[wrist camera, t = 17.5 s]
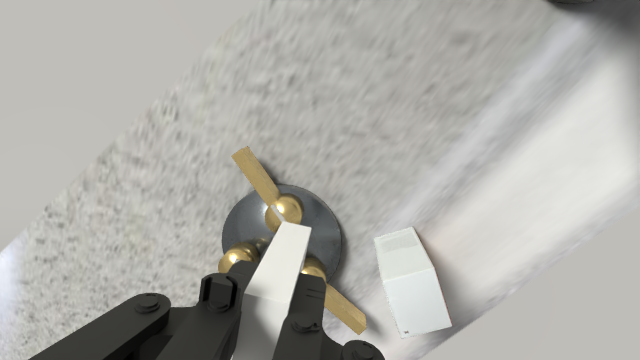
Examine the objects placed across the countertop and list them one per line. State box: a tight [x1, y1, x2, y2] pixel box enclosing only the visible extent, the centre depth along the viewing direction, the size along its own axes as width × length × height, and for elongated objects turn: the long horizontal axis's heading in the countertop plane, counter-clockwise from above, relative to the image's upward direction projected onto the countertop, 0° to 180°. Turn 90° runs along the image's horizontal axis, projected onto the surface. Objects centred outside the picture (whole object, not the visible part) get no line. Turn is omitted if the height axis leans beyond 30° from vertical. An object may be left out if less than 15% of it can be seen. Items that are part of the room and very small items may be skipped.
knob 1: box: [218, 242, 259, 273], centre depth 50 cm, size 13×5×4 cm, turn 162°
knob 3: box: [302, 257, 366, 335], centre depth 49 cm, size 13×5×4 cm, turn 48°
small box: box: [373, 227, 453, 339], centre depth 45 cm, size 8×6×13 cm
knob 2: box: [232, 146, 304, 234], centre depth 46 cm, size 13×5×4 cm, turn 34°
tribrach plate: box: [222, 184, 341, 282], centre depth 48 cm, size 18×18×9 cm
